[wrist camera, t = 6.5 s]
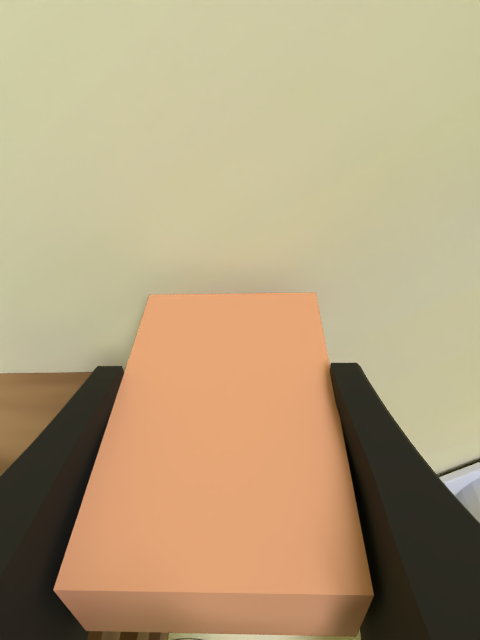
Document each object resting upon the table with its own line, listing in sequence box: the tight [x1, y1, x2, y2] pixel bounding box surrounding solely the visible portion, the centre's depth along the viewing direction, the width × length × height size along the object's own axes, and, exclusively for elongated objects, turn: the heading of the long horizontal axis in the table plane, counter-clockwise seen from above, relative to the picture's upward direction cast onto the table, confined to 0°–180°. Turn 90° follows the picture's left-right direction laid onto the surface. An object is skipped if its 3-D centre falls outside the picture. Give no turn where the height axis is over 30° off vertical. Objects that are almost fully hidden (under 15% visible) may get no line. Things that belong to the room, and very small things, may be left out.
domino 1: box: [0, 372, 92, 476], centre depth 14 cm, size 2×5×8 cm, turn 93°
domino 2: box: [53, 293, 374, 636], centre depth 10 cm, size 2×5×8 cm, turn 92°
